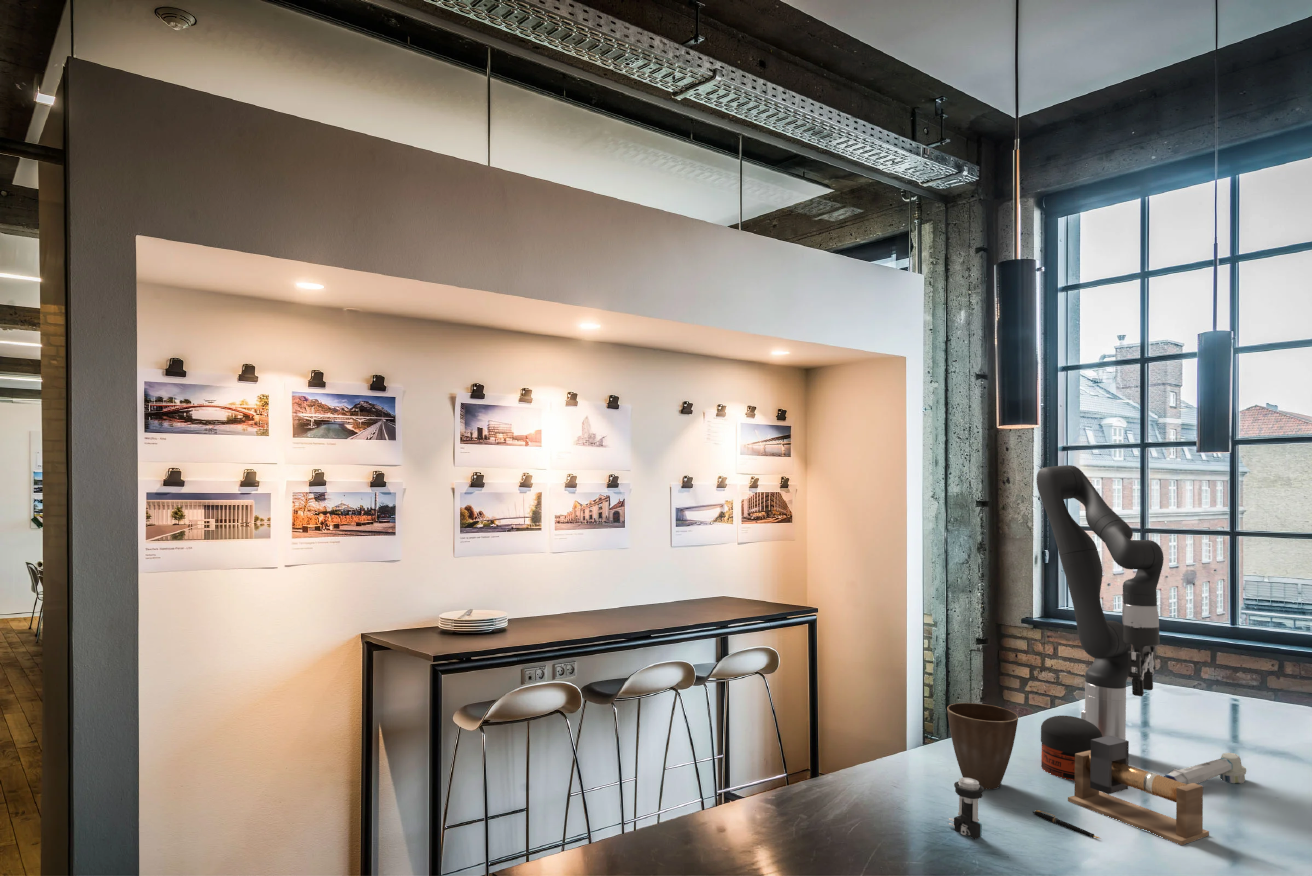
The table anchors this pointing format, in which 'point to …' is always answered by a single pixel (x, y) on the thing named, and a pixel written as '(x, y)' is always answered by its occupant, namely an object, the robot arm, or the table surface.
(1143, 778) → the pipe
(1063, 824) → the fountain pen
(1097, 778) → the collar
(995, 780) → the plant pot
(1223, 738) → the table surface
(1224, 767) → the toothbrush head
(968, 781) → the push button
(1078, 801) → the stand
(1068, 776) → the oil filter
